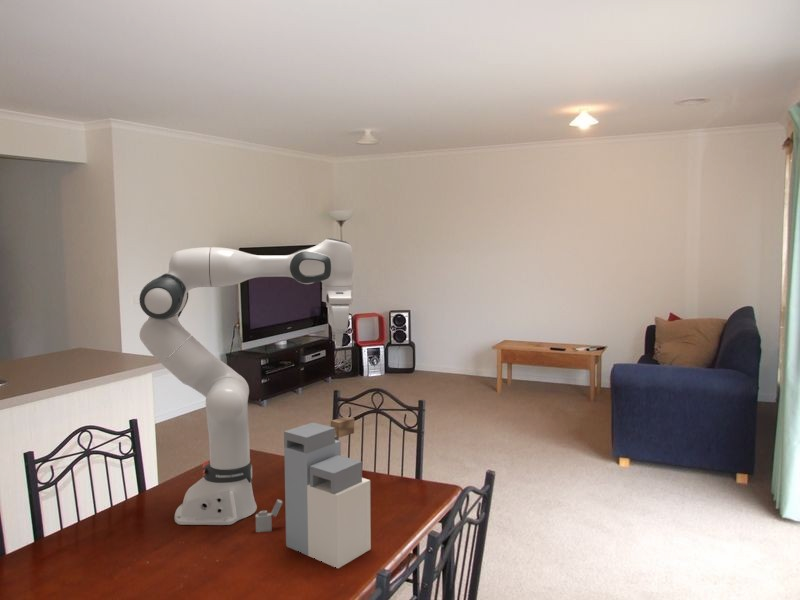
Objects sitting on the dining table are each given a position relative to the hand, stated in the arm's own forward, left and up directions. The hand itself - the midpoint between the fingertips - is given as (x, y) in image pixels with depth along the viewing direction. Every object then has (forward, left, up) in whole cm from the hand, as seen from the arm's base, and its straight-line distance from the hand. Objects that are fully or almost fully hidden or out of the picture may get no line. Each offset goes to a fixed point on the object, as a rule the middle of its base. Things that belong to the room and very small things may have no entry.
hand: (337, 343), depth 185 cm
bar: (-4, -19, -22) cm, 29 cm away
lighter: (-20, -14, -48) cm, 54 cm away
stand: (-5, -27, -48) cm, 55 cm away
